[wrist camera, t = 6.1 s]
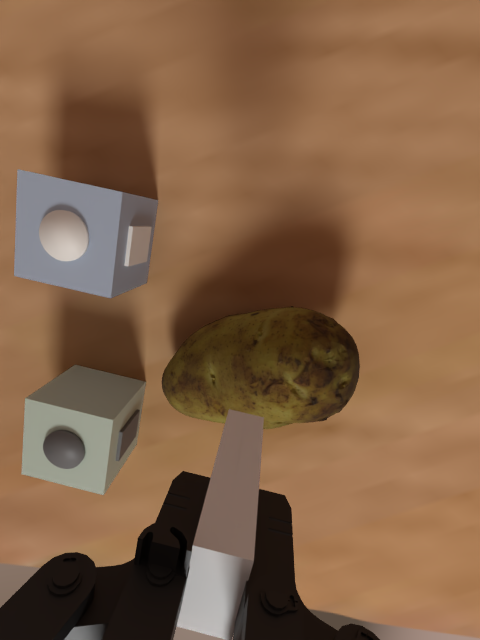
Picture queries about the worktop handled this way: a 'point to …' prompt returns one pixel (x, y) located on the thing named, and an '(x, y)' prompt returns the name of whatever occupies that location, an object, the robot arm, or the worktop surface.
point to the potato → (265, 368)
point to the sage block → (82, 428)
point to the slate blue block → (82, 235)
